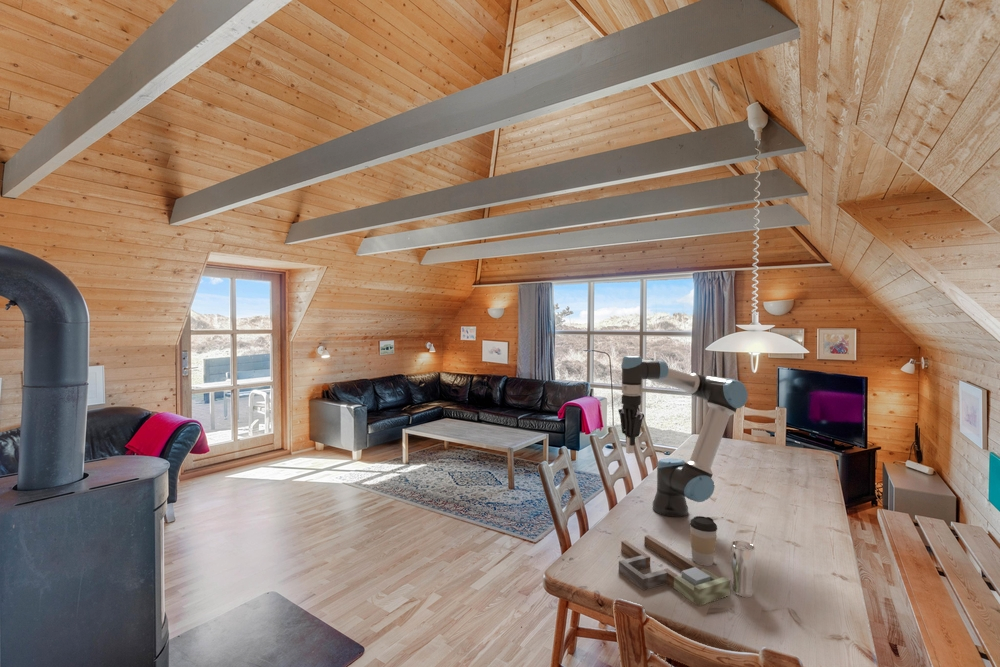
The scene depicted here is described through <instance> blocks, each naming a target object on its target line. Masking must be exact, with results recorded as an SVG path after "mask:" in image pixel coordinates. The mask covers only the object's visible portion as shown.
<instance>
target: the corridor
mask: <svg viewBox="0 0 1000 667" xmlns="http://www.w3.org/2000/svg"><path fill="white" fill-rule="evenodd" d="M643 541H644V544H643V546H645V547H647V549H650V550H652V551H653V553H654V552H655V554H657V555H659V556H661V558H664V559H665V560H667V561H668V562H670V563H672V564H673V565H674V566H675V567H676V566H677V567H678V569H680V570H681V571H684V570H687V569H690V568H694V567H696V568H698V569H699V570H701V571H702V572H704V573H706V574H707V575H709V576H710V581H709V582H706V583H703V584H699V585H696V586H694V585H692V584H691V583H689V582H688V581H686V580H685V579H683V578H682V576H680V575H678V574H676V573H675V572H673V571H672V570H671V569H670V568H663V569H660V570H657V571H652V572H649V573H646V574H643V573H642V572H641V570H643V569H647V568H650V567H651V556H650V555H648V554H647V553H645V552H644V551H642V550H641V549H639V548H638V547H636V546H635V545H633V544H632V543H630V542H629V541H628V540H621V541H620V542H621V543H620V544H621V546H620V550H621V552H623V553H624V554H626V556H628V557H630V558H625V559H622V560H619V561H618V572H619V573H620V574H621V575H623V576H624V577H625V578H627V580H629V581H630V582H632V583H633V584H634V585H636V586H637V587H638V588H640V589H641V590H642V591H646V590H649V589H653V588H655V587H659V586H663V585H666V584H667V585H669V586H670V587H671V588H673V589H675V590H676V591H677V592H679V594H681V595H683V596H684V597H686V598H687V599H688V600H690V601H691V602H692V603H694V604H695V603H696V605H697V606H698V605H699V606H698V607H701V606H703V604H704V605H706V603H707V604H709V603H708V602H710V603H712V602H711V601H713V602H715V601H714V600H716V601H718V600H717V599H719V600H721V599H720V598H722V599H724V598H723V597H725V598H727V597H726V596H728V597H730V596H729V595H731V594H730V591H731V590H730V589H731V580H730V579H729V578H727V577H726V576H723V577H718V576H717V575H715V574H713V573H712V572H710V571H709V570H707V569H705V568H703V567H702V566H701V565H699V564H698V563H696V562H694V561H693V560H690V559H688V558H687V557H685V556H683V555H682V554H680V553H679V552H677V551H676V550H674V549H672V548H670V547H669V546H667V545H665V544H664V543H663V542H660V541H659V540H658V539H655V537H653V536H651V535H649V534H647V535H644V540H643ZM700 605H701V606H700Z"/></svg>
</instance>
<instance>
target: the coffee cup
mask: <svg viewBox="0 0 1000 667" xmlns="http://www.w3.org/2000/svg"><path fill="white" fill-rule="evenodd" d="M689 525H690V531H689V532H690V545H691V546H690V547H691V558H692V562H693V563H695V564H697V565H700V566H701V565H702V566H705V567H706V566H712V565H713V564H714V556H715V551H716V544H717V532H718V525H717V524H716V523H715V521H714V519H713V518H711V517H709V516H700V515H699V516H698V515H697V516H694V517H693V518H692V519H690V522H689Z"/></svg>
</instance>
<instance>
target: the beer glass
mask: <svg viewBox="0 0 1000 667" xmlns="http://www.w3.org/2000/svg"><path fill="white" fill-rule="evenodd" d="M730 566H731V572H732V584H731V586H730V589H731V590H730V591H731V592H732V591H733V592H734V593H733V592H732V593H733V594H735V595H736V594H737V595H736V596H738V595H739V596H738V597H741V596H742V598H751V597H753V595H754V592H753V588H752V583H753V578H754V573H755V568H756V547H755V545H754V544H752V543H750V542H748V541H744V540H737V539H736V540H732V542H731V547H730Z"/></svg>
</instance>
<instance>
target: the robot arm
mask: <svg viewBox="0 0 1000 667" xmlns="http://www.w3.org/2000/svg"><path fill="white" fill-rule="evenodd" d="M620 367H621V393H622V395H621V404H622V407H621V408H619V409H618V414H619V419H620V426H621V427H620V428H621V433H622V434H623V435H624V436H625V446H626V449H625V452H626V454H634V453H635V446H636V438H638V437H640V433H641V429H642V423H643V420H644V418H645V414H644V413H641V412H640V411H641V410H640V406H641V404H642V396H641V395H642V381H643V380H648V381H652V382H655V383H659V384H662V385H666V386H669V387H672V388H676V389H679V390H683V391H684V392H685V393H686V394H689V395H691V396H694V397H697V398H699V399H701V400H704V401H707V402H706V404H707V407H708V411H707V413H706V415H705V418H704V422H703V423H702V427H701V429H700V432H699V434H698V437H697V440H696V442H695V445H694V448H693V450H692V452H691V456H690V459H688V460H686V461H685V460H684V459H681V458H680V459H679V458H669V457H668V458H661V459H659V460H658V461H657V467H656V469H657V470H656V474H657V475H656V492H655V496H654V498H653V501H652V509H653V510H654V512H656V513H658V514H660V515H663V516H667V517H673V518H675V517H676V518H680V517H685V516H687V515H688V514H689V507H688V504H687V500H686V499H688V500H691V501H693V502H695V503H703V502H705V501H707V500H709V499H710V498H711V497H712V495H713V494H714V491H715V488H716V486H715V482H714V480H713V478H712V477H713V474H714V473H713V471H712V469H711V468H712V465H713V463H714V461H715V457H716V455H717V452H718V450H719V447H720V444H721V441H722V438H723V436H724V433H725V430H726V427H727V426H728V425H727V424H728V423H729V420H730V418H731V416H732V415H735V414H736V413H737V410H738V409H740V408H741V409H742V407H744V406H745V405H746V403H747V402H748V390H747V387H746V385H745V384H744V383H743V382H741V381H740V380H737V379H734V378H730V377H729V378H727V377H722V376H721V377H720V376H715V375H704V374H698V373H695V372H693V373H692V372H691V373H687V372H684V371H679V370H676V369H674V368H673V369H672V368H669V365H668V363H667V362H666V361H664V360H658V359H657V360H650V359H643V357H642V356H639V355H625V356H623V357H622V361H621V366H620Z"/></svg>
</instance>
